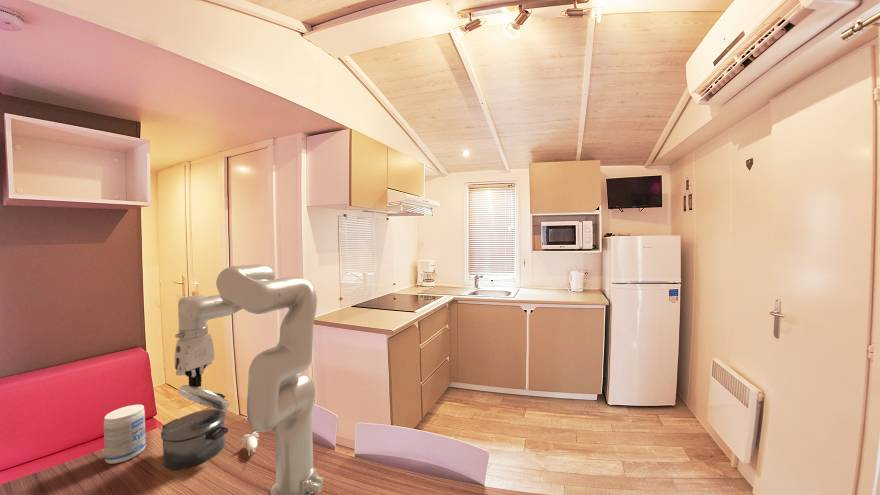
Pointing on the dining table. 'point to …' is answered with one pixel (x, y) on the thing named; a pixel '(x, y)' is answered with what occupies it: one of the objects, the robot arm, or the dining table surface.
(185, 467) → the pot
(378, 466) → the dining table surface
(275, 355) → the robot arm
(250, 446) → the white toy bomb
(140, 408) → the supplement tub
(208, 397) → the pot lid
